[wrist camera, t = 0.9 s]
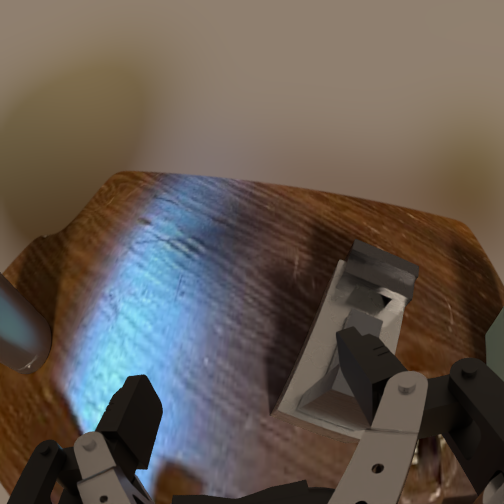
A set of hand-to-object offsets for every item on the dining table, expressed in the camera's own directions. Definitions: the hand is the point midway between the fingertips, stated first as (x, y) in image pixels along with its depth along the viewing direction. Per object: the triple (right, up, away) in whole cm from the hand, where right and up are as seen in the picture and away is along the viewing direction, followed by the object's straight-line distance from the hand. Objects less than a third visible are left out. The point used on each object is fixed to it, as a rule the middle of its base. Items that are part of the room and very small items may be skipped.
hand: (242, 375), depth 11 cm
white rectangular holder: (+10, -8, +20) cm, 24 cm away
